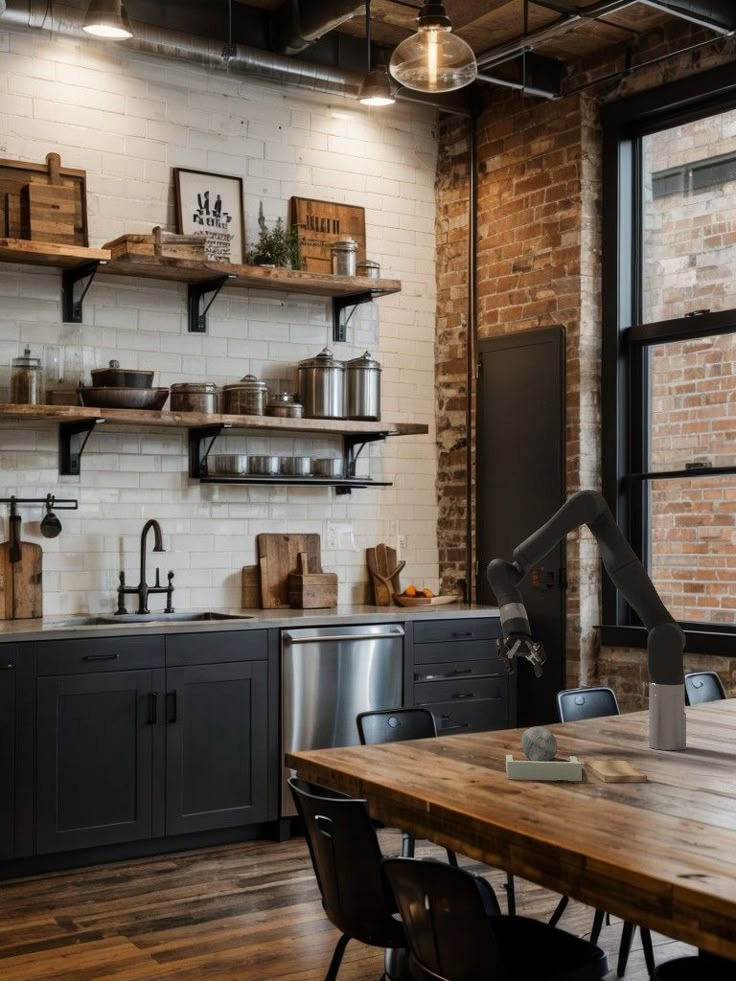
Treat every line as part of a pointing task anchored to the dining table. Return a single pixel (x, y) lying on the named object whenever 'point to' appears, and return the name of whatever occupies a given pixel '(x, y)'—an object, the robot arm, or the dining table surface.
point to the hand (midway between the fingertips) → (525, 674)
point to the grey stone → (539, 744)
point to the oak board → (615, 771)
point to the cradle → (544, 770)
